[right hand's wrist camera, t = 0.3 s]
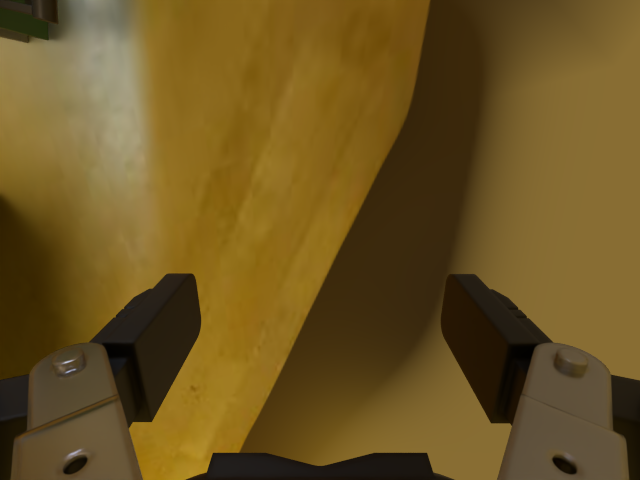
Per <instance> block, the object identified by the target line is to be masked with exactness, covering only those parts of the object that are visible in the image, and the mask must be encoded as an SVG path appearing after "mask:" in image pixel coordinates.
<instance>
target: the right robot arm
mask: <svg viewBox="0 0 640 480" xmlns="http://www.w3.org/2000/svg"><path fill="white" fill-rule="evenodd" d="M200 328H201V314H200V307H199V299H198V292H197V285H196V279H195V276H194V275H193V274H166V275H165V276H164V277H163V278H162V279H161V281H160V282H159V283H158V284H157V285H156V286H155V287H154V288H153V289H148V290H146V291H145V292H143V293H141V294H139V295H137V296H136V297H134V298H133V299H132V300H131V301H130V302H129V303H128V304H127V305H126V306H125V307H124V309H122V310H121V311H120V312H119V313H118V314H117V315H116V318H113V319H112V320H111V321H110V322H109V323H108V324H107V325H106V326H105V327H104V328H103V329H102V330H101V331H100V332H99V333H98V334H97V335H96V336H95V337H94V338H93V339H92V340H91V341H90V342H89V343H80V344H75V345H71V346H67V347H65V348H62V349H59V350H57V351H55V352H53V353H51V354H49V355H48V356H46V357H44V358H43V359H42V360H40V361H39V362H38V363H37V364H36V365H35V366H34V367H33V368H32V370H31V371H30V374H28V375H23V376H18V377H13V378H8V379H3V380H0V480H143V478H142V475H141V471H140V467H139V464H138V460H137V457H136V453H135V450H134V446H133V443H132V439H131V435H130V432H129V427H130V426H131V424H132V422H152V420H153V419H154V417H155V415H156V413H157V411H158V409H159V408H160V406H161V404H162V402H163V400H164V398H165V397H166V395H167V393H168V391H169V389H170V387H171V385H172V384H173V382H174V380H175V378H176V376H177V374H178V373H179V371H180V369H181V367H182V365H183V363H184V362H185V360H186V358H187V356H188V354H189V352H190V351H191V349H192V347H193V345H194V343H195V341H196V340H197V338H198V335H199V332H200ZM441 329H442V334H443V336H444V339H445V340H446V342H447V344H448V346H449V348H450V349H451V351H452V353H453V355H454V357H455V358H456V360H457V362H458V364H459V366H460V368H461V369H462V371H463V373H464V375H465V377H466V378H467V380H468V382H469V384H470V386H471V388H472V389H473V391H474V393H475V395H476V397H477V399H478V400H479V402H480V404H481V406H482V408H483V409H484V411H485V413H486V415H487V417H488V418H489V420H490V422H491V423H510V424H511V425H512V429H511V432H510V436H509V439H508V443H507V446H506V450H505V453H504V457H503V460H502V464H501V467H500V471H499V475H498V478H497V480H640V381H639V380H634V379H629V378H624V377H620V376H615V375H611V374H610V371H609V370H608V368H607V367H606V366H605V365H604V364H603V363H602V362H601V361H600V360H598V359H597V358H596V357H594V356H592V355H591V354H589V353H587V352H585V351H583V350H581V349H578V348H575V347H573V346H569V345H565V344H560V343H553V342H552V341H551V340H550V339H549V338H548V337H547V336H546V335H545V334H544V333H543V332H542V331H541V330H540V329H539V328H538V327H537V326H536V325H535V324H534V323H533V322H532V321H531V320H530V319H529V318H527V316H526V315H525V314H524V313H523V312H522V311H521V310H518V307H517V306H516V305H515V304H514V303H513V302H512V301H511V300H510V299H509V298H507V297H506V296H504V295H502V294H500V293H498V292H496V291H495V290H493V289H489V288H488V287H487V286H486V285H485V284H484V283H483V282H482V281H481V280H480V279H479V278H478V277H477V276H476V275H475V274H450V275H448V277H447V280H446V285H445V292H444V299H443V306H442V313H441ZM186 480H454V479H451V478H449V477H446V476H443V475H440V474H437V473H433V471H432V467H431V464H430V461H429V458H428V455H427V453H372V454H368V455H365V456H360V457H357V458H353V459H349V460H345V461H341V462H337V463H333V464H330V465H325V466H315V465H311V464H307V463H303V462H299V461H295V460H291V459H287V458H283V457H280V456H276V455H272V454H268V453H213V455H212V458H211V461H210V464H209V467H208V471H207V473H203V474H200V475H197V476H194V477H191V478H189V479H186Z"/></svg>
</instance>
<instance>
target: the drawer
mask: <svg viewBox="0 0 640 480" xmlns="http://www.w3.org/2000/svg"><path fill="white" fill-rule="evenodd" d="M48 22H50V23H54V24H58V8H57V0H0V28H2V29H5V30H9V31H13V32H16V33H20V34H24V35H28V36H31V37H35V38H39V39H44V40H49V37H48Z"/></svg>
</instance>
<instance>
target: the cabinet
mask: <svg viewBox="0 0 640 480" xmlns="http://www.w3.org/2000/svg"><path fill="white" fill-rule="evenodd" d="M0 37H3V38H7V39H12V40H16V41H21V42H26V43H28V35H24V34H20V33H16V32H13V31H9V30H5V29H2V28H0Z"/></svg>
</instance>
